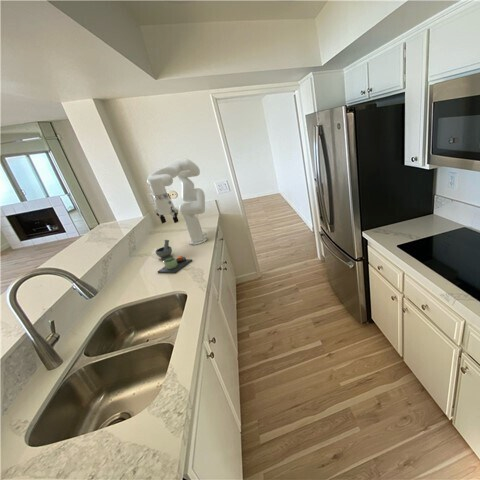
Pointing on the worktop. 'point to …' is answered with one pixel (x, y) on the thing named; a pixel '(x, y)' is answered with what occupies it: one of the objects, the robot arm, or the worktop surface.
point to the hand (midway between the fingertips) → (170, 222)
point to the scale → (181, 264)
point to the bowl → (170, 263)
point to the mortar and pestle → (164, 251)
